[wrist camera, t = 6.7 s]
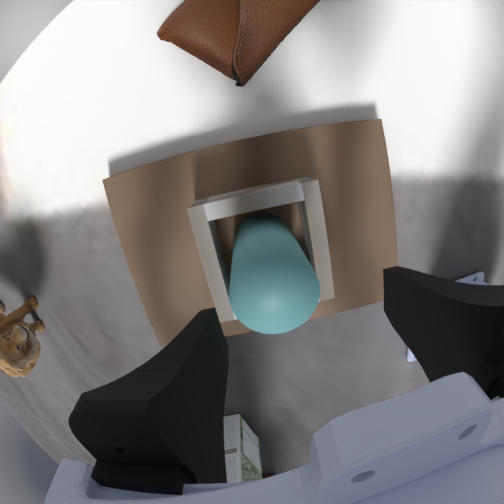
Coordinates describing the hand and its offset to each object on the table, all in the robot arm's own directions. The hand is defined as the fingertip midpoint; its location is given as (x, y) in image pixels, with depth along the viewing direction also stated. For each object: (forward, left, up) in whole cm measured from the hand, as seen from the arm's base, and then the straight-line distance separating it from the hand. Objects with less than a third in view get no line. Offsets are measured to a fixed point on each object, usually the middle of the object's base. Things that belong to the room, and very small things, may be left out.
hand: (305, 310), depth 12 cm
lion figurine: (+27, 0, -11) cm, 29 cm away
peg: (+1, 0, -9) cm, 9 cm away
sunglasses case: (-4, -20, -11) cm, 23 cm away
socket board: (+1, 0, -10) cm, 10 cm away
